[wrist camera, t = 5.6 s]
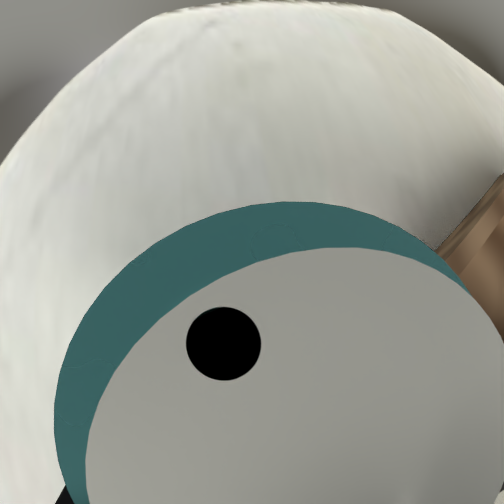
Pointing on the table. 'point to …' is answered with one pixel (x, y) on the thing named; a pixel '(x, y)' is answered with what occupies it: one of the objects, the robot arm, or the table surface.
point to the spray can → (283, 370)
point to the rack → (481, 253)
